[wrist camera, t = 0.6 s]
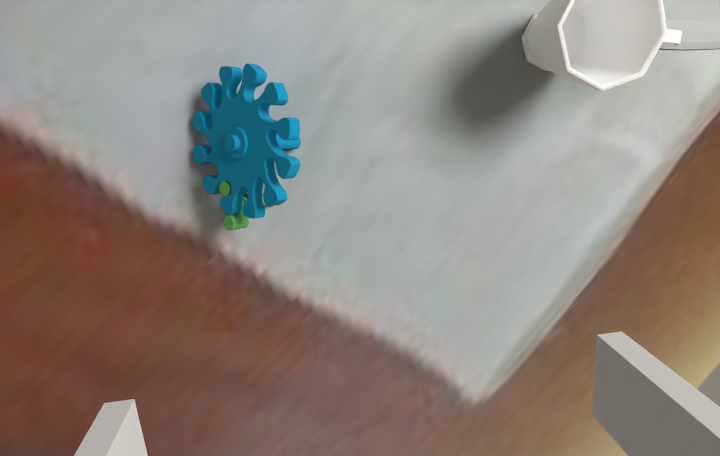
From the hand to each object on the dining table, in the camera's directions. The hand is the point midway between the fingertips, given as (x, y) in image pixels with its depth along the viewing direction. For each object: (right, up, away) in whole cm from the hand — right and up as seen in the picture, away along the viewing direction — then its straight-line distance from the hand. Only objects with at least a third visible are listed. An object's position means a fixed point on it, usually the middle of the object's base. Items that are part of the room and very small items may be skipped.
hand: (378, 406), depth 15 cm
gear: (-9, +11, +23) cm, 27 cm away
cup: (+15, +19, +24) cm, 34 cm away
